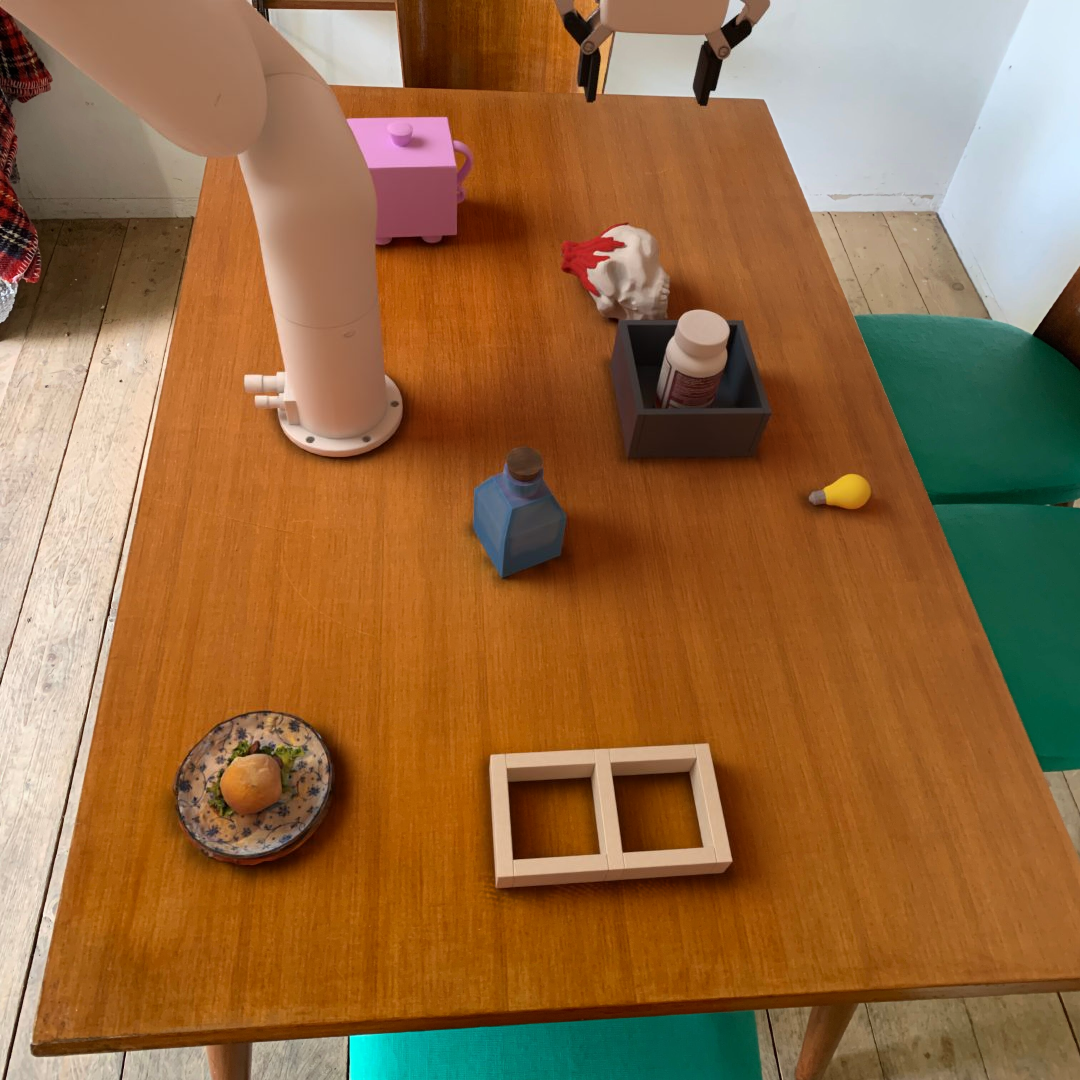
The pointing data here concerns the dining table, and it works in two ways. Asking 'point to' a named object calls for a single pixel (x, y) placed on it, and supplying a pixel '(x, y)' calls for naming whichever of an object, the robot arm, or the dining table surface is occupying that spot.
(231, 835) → the burger
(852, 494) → the light bulb
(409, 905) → the dining table surface
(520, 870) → the frame
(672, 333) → the dark grey open box
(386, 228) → the teapot
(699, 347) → the pill bottle
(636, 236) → the candle
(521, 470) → the perfume bottle
